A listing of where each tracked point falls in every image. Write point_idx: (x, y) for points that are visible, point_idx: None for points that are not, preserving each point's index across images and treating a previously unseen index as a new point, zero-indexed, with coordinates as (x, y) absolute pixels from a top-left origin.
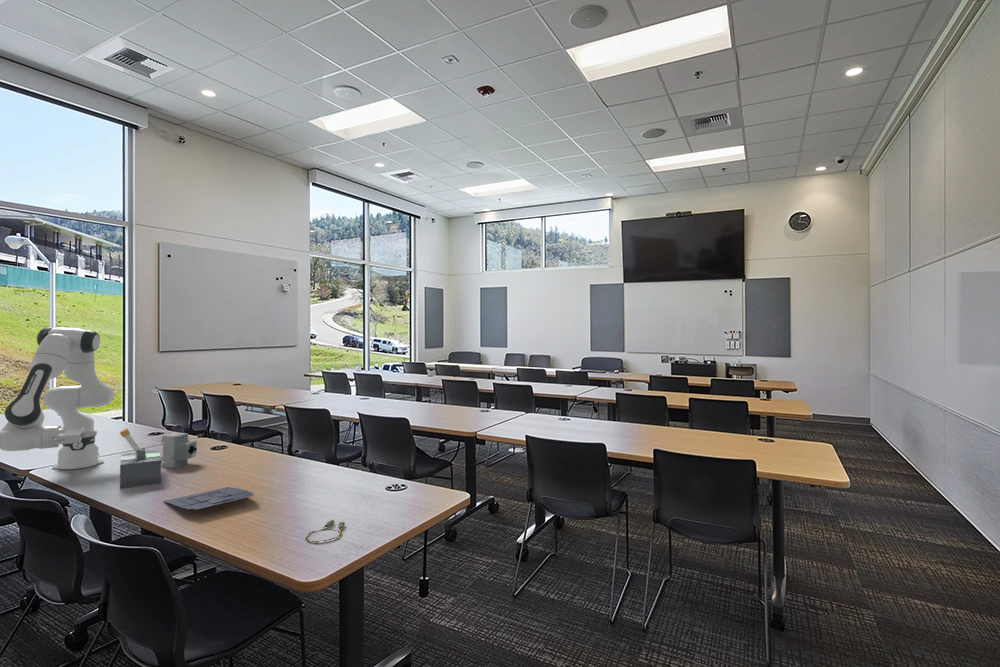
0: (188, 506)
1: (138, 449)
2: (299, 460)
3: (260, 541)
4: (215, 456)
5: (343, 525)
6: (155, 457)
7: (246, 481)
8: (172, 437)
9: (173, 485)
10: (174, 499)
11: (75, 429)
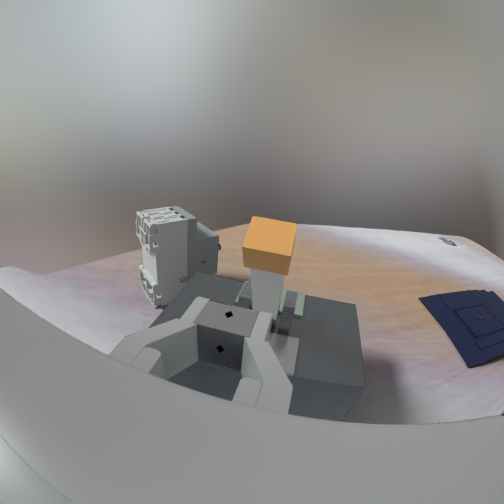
0: None
1: (280, 300)
2: (309, 226)
3: None
4: None
5: None
6: (305, 302)
7: (393, 279)
8: (182, 223)
9: (370, 343)
10: (468, 354)
11: (21, 388)
